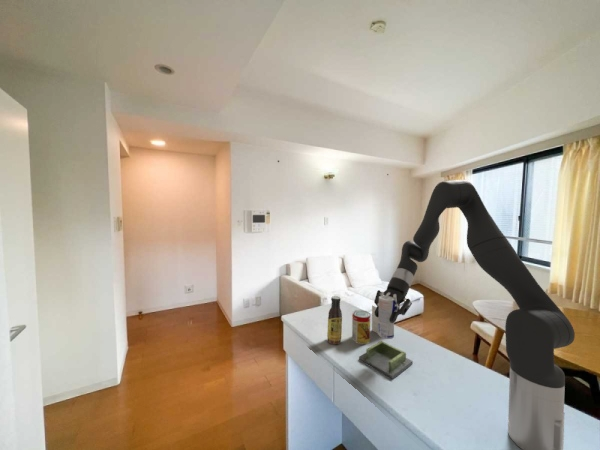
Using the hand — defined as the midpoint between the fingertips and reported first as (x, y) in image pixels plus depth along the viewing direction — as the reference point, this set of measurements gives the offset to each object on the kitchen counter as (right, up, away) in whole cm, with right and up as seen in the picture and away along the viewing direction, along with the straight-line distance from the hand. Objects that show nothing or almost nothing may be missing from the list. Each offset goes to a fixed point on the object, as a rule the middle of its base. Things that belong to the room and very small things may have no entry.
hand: (383, 318), depth 86 cm
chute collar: (+1, -17, +1) cm, 17 cm away
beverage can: (+1, -7, +1) cm, 8 cm away
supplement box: (+9, -17, +25) cm, 31 cm away
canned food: (-4, -17, +18) cm, 25 cm away
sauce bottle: (-16, -17, +16) cm, 28 cm away
